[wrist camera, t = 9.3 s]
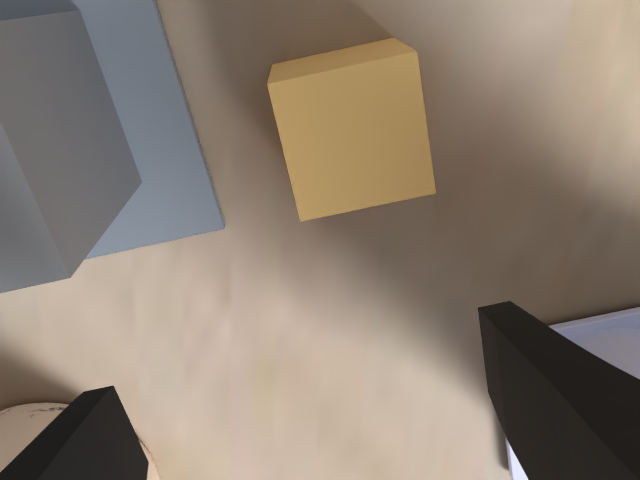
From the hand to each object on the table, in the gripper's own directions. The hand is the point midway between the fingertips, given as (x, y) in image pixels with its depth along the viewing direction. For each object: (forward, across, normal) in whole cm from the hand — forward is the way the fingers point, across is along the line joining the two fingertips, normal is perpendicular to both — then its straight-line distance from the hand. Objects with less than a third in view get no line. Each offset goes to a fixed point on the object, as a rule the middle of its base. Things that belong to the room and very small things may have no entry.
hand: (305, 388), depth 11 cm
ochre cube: (+10, -2, -3) cm, 11 cm away
